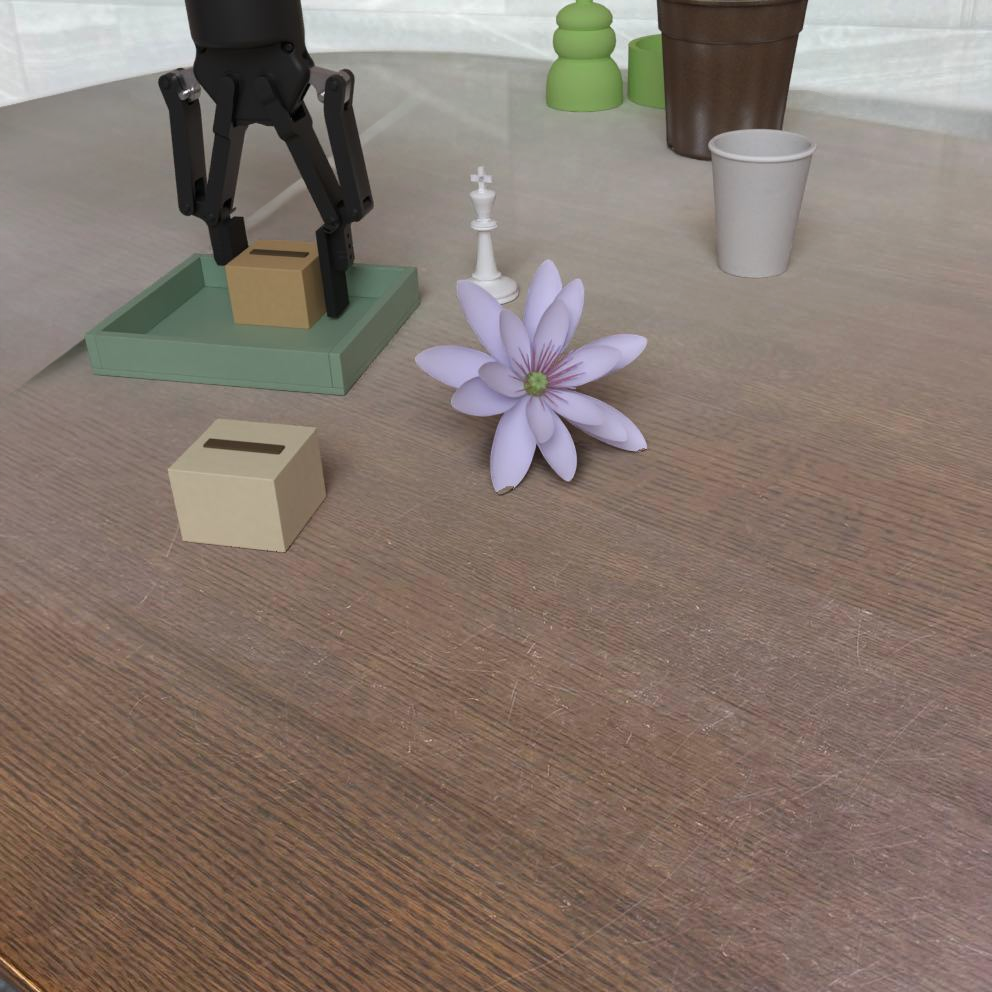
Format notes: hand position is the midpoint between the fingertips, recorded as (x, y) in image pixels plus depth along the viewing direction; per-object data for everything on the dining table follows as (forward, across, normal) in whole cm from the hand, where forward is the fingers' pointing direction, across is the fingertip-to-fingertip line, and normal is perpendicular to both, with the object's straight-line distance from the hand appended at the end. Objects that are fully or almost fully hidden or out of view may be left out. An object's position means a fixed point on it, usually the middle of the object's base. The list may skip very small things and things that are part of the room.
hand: (291, 307), depth 91 cm
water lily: (+1, -23, +18) cm, 29 cm away
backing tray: (+1, +1, +4) cm, 4 cm away
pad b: (0, 0, 0) cm, 1 cm away
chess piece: (+1, -13, -7) cm, 15 cm away
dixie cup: (+2, -33, -17) cm, 38 cm away
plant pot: (+2, -27, -53) cm, 60 cm away
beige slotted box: (+1, -9, +28) cm, 29 cm away
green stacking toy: (+1, -16, -75) cm, 76 cm away
